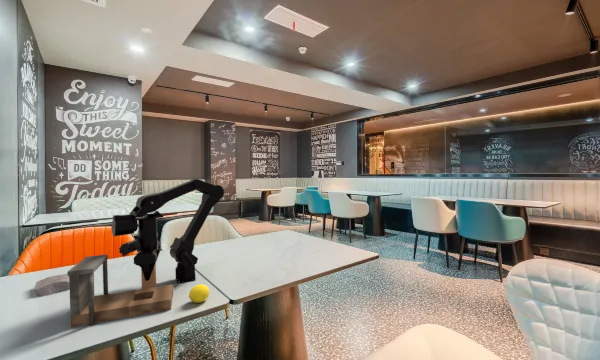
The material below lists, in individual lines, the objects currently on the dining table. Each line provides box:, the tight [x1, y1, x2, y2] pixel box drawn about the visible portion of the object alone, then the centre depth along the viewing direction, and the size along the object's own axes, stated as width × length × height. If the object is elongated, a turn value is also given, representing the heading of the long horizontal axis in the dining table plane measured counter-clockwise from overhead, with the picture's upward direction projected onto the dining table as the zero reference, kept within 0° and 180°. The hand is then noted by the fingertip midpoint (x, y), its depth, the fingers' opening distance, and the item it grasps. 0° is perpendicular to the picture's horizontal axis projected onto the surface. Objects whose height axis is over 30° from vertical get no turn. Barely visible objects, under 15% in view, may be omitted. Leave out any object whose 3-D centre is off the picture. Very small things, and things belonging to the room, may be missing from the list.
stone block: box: [33, 273, 70, 297], centre depth 97 cm, size 12×5×10 cm
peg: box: [140, 262, 157, 289], centre depth 96 cm, size 4×4×9 cm
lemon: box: [188, 283, 210, 304], centre depth 86 cm, size 7×5×5 cm
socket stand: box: [66, 254, 174, 328], centre depth 82 cm, size 24×14×15 cm, turn 112°
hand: (149, 275), depth 96 cm, fingers open, 9 cm apart
